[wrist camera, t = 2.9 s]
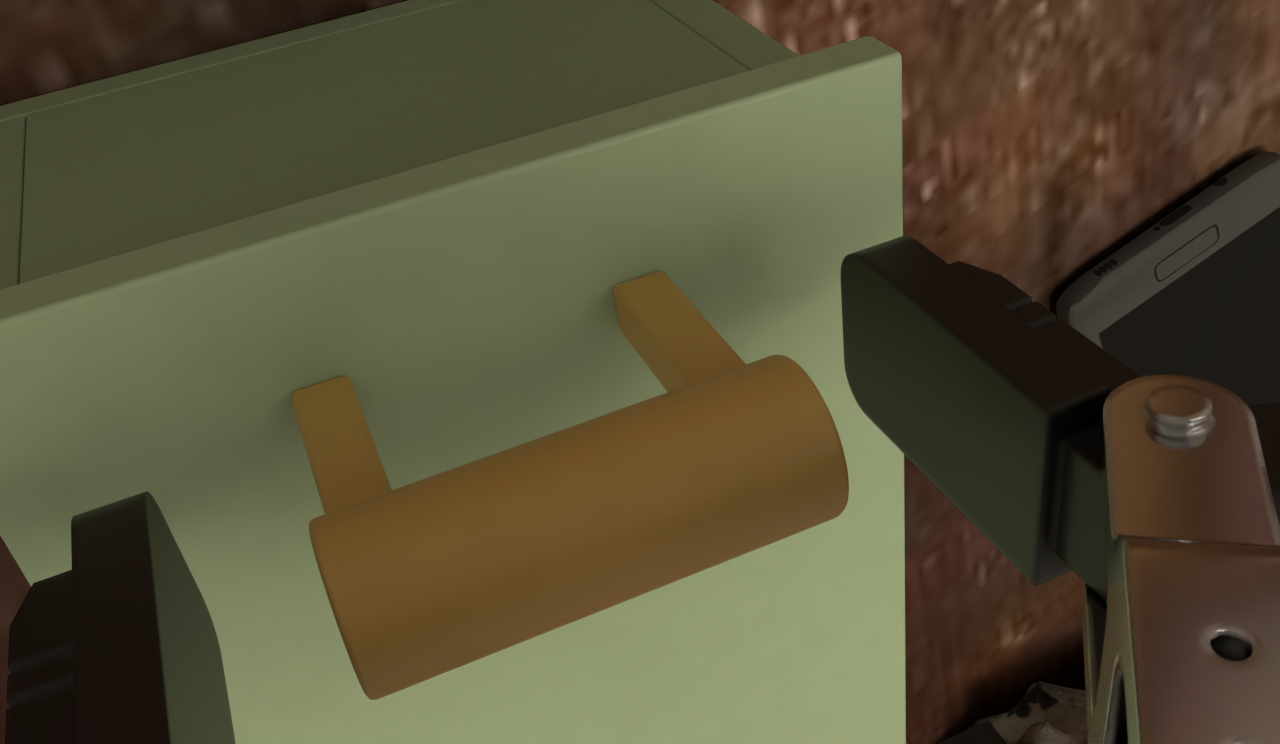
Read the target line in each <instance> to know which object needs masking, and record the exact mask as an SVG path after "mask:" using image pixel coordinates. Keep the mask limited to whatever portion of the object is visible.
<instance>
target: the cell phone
mask: <svg viewBox="0 0 1280 744" xmlns="http://www.w3.org/2000/svg"><path fill="white" fill-rule="evenodd" d="M1056 314H1057V320H1058V321H1059V320H1061V319H1062V320H1063V321H1065V322H1066V323H1067V324H1069V325H1070V326H1072V327H1073V328H1074V329H1076V330H1077V331H1078V332H1080V333H1081V334H1083V335H1084V336H1085V337H1087V338H1088V339H1090V340H1091V341H1092V342H1094V343H1095V344H1096V345H1098V346H1099V347H1101V348H1102V349H1103V350H1105V351H1106V352H1108V353H1109V354H1110V355H1112V356H1113V357H1114V358H1116V359H1117V360H1119V361H1120V362H1121V363H1123V364H1124V365H1125V366H1127V367H1128V368H1130V369H1131V370H1132V371H1134V372H1135V373H1137V374H1138V375H1139V376H1141V377H1145V376H1152V375H1183V376H1189V377H1195V378H1199V379H1203V380H1206V381H1210V382H1212V383H1215V384H1217V385H1220V386H1222V387H1224V388H1226V389H1227V390H1229V391H1231V392H1233V393H1234V394H1235V395H1237V396H1238V397H1240V398H1241V399H1242V400H1243V401H1244V402H1245V403H1246V404H1247V405H1248V406H1251V405H1260V404H1267V403H1275V402H1280V155H1279V154H1277V153H1275V152H1261V153H1259V154H1257V155H1256V156H1254V157H1252V158H1251V159H1249V160H1247V161H1245V162H1244V163H1242V164H1240V165H1239V166H1237V167H1236V168H1234V169H1233V170H1231V171H1230V172H1229V173H1227V174H1226V175H1224V176H1223V177H1221V178H1220V179H1219V180H1217V181H1216V182H1214V183H1213V184H1211V185H1210V186H1208V187H1207V188H1206V189H1204V190H1203V191H1201V192H1200V193H1198V194H1197V195H1196V196H1194V197H1193V198H1191V199H1190V200H1188V201H1187V202H1186V203H1184V204H1183V205H1181V206H1180V207H1178V208H1177V209H1176V210H1174V211H1173V212H1171V213H1170V214H1168V215H1167V216H1166V217H1164V218H1163V219H1161V220H1160V221H1158V222H1157V223H1156V224H1154V225H1153V226H1151V227H1150V228H1148V229H1147V230H1146V231H1144V232H1143V233H1141V234H1140V235H1138V236H1137V237H1135V238H1134V239H1133V240H1131V241H1130V242H1128V243H1127V244H1125V245H1124V246H1123V247H1121V248H1120V249H1118V250H1117V251H1115V252H1114V253H1113V254H1111V255H1110V256H1108V257H1107V258H1105V259H1104V260H1103V261H1101V262H1100V263H1098V264H1097V265H1095V266H1094V267H1093V268H1091V269H1090V270H1088V271H1087V272H1085V273H1084V274H1083V275H1081V276H1080V277H1079V278H1078V279H1077V280H1075V281H1074V282H1073V283H1072V284H1071V285H1070V286H1068V287H1067V288H1066V289H1065V290H1064V292H1063V293H1062V294H1061V296H1060V297H1059V299H1058V300H1057V302H1056Z"/></svg>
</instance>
